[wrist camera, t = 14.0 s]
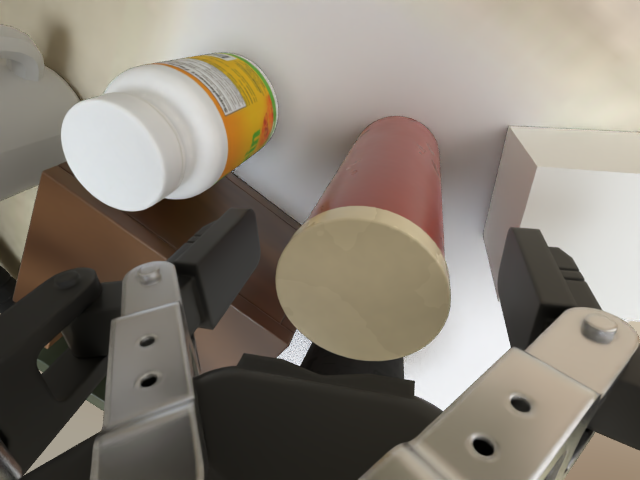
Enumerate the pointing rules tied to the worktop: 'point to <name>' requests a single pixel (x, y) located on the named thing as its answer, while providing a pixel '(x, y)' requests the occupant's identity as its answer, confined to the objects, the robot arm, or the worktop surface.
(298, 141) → the worktop surface
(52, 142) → the cup
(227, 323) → the cabinet
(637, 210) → the white cube
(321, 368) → the drinking cup
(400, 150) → the tin
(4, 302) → the knife
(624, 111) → the worktop surface
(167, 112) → the supplement bottle
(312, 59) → the worktop surface
